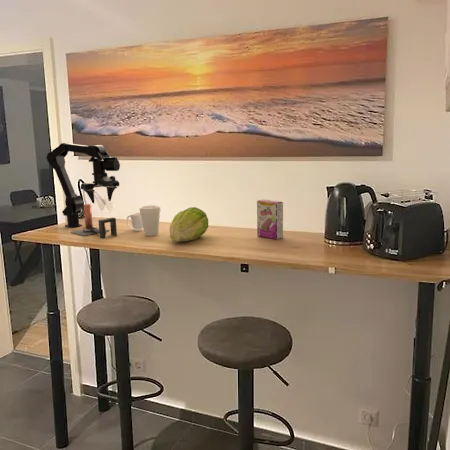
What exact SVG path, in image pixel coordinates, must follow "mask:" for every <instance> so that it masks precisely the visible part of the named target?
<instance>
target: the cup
mask: <svg viewBox="0 0 450 450" xmlns="http://www.w3.org/2000/svg"><path fill="white" fill-rule="evenodd" d="M129 218H130V220H131V225H132V226H131V225H130V224H129ZM126 224H127V227H129V229H131V230H132V231H134V232H141V231H144V229H143V224H142V219H141V213H140V212H133V213H131V214H129V215H127V217H126Z"/></svg>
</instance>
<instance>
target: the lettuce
mask: <svg viewBox="0 0 450 450" xmlns="http://www.w3.org/2000/svg"><path fill="white" fill-rule="evenodd" d="M208 228H209V218H208V216H207V213H206V212H205V211H204V210H202V209H200V208H198V207H195V206H193V207H188V208H186V209H184V210H182V211H179V212H178V213H177V214H176V215H175V216H174V217H173V219H172V220H171V223H170V225H169V237H170V239H171V241H173V242H189V241H195V240H197V239H199V238H201V236H203V235H204V234H205V233H206V232H207V230H208Z"/></svg>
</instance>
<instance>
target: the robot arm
mask: <svg viewBox="0 0 450 450" xmlns="http://www.w3.org/2000/svg"><path fill="white" fill-rule="evenodd" d="M69 152H71V153H80V154H85V155H87V156H89V157H91V158H90V159H88V163H92V171H93V172H92V173H91V176H93V181H92V183H91V182H85V183H81V185H80V190H83V192H85V193H86V195H87V196H88V197H89V199H90V201H91V203H92V204H95V189H94V188H100V187H101V188H102V187H103V188H106V193H107V199H108V201H109V202H111V200H112V197H113V193H114V191H115V190H116V189H117V188H118V187H120V182H119V180H117V179H116V176H114V175H111V176H109V175H108V173H107V172H118V171H119V170H120V169H121V168H120V167H121V163H120V161H119V159H118V157H117V156H110V154H109V153H108V151H107V150H106V148H105V146H104V145H102V144H97V145H85V144H77V143H70V142H62V143H60V144H59V145H58V146H57V147H55V148H54V149H52V150H51V151H50V152H48V153H47V154H46V157H45V158H46V162H48V165H49V166H50V167H51V168H52V169H53V170H54V171H55V173H56V176H57V178H58V182H59V183H60V186H61V188H62V191H63V193H64V195H65V202H64V204H65V207H64V209H63V210H62V214H63V216H66V223H67V224H64V226H65V227H66V228H74V227H76V228H77V227H81V226H83V224H81V223H80V219H79V218H80V217H79V214H82V210H83V209H84V203H85V202H84V201H83V199H82V196H81V195H80V194H79V195H77V194H76V192H75V190H74V187H73V184H72V181H71V180H70V176H69V175H68V172H67V170H66V167H65V166H66V160H65V158H66V156H68V153H69Z"/></svg>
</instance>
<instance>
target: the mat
mask: <svg viewBox="0 0 450 450" xmlns="http://www.w3.org/2000/svg"><path fill="white" fill-rule="evenodd" d="M95 228H98V227H95ZM107 232H110V230H109V229H106V233H107ZM70 234H74V235H78V236H81V237H86V236H91V235H96V234H98V233H94V232H83V229H79V230H75V231H74V230H73V231H70Z"/></svg>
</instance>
